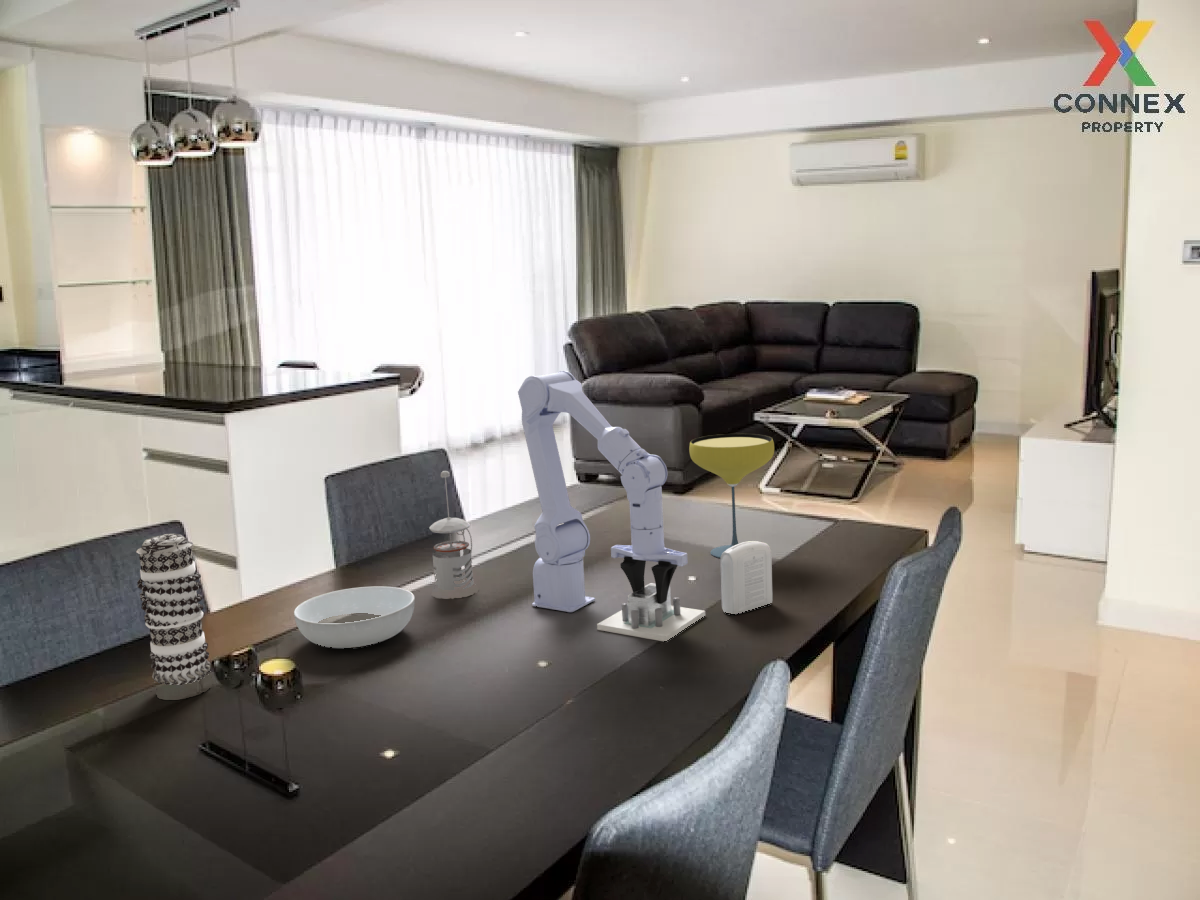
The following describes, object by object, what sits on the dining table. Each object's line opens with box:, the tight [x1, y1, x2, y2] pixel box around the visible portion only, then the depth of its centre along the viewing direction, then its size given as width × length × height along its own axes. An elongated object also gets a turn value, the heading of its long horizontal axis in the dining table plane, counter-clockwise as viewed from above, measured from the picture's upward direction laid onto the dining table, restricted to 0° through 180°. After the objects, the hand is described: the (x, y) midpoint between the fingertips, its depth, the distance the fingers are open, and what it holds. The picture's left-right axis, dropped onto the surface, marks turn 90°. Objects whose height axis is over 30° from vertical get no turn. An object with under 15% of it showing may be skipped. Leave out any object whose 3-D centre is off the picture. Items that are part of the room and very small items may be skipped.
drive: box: [627, 582, 672, 627], centre depth 173 cm, size 4×8×5 cm, turn 146°
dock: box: [596, 596, 706, 642], centre depth 174 cm, size 14×14×4 cm
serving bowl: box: [293, 585, 416, 649], centre depth 174 cm, size 21×21×7 cm
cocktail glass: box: [688, 433, 775, 559], centre depth 213 cm, size 18×18×25 cm
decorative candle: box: [136, 533, 212, 686], centre depth 154 cm, size 9×9×25 cm
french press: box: [429, 470, 475, 590], centre depth 198 cm, size 10×12×25 cm
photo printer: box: [719, 540, 773, 615], centre depth 178 cm, size 10×4×12 cm, turn 123°
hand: (650, 600), depth 173 cm, fingers closed on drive, 4 cm apart
